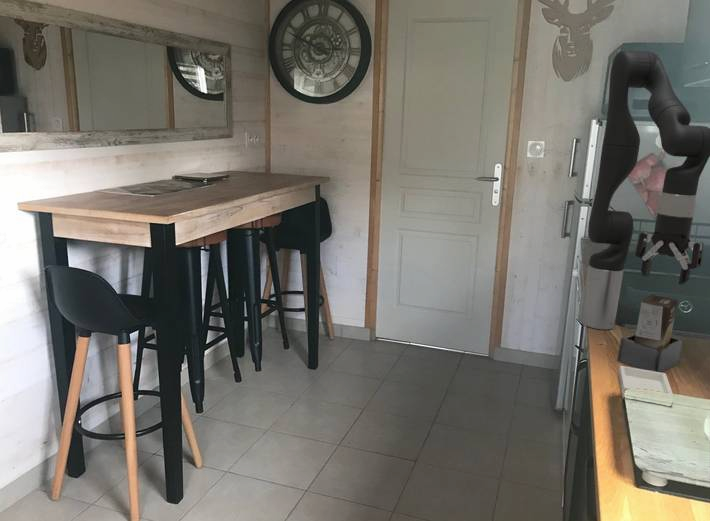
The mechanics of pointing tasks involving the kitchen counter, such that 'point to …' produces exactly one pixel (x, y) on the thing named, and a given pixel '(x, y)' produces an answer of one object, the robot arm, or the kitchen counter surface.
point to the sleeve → (649, 354)
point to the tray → (643, 380)
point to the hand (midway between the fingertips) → (663, 279)
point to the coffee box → (656, 321)
